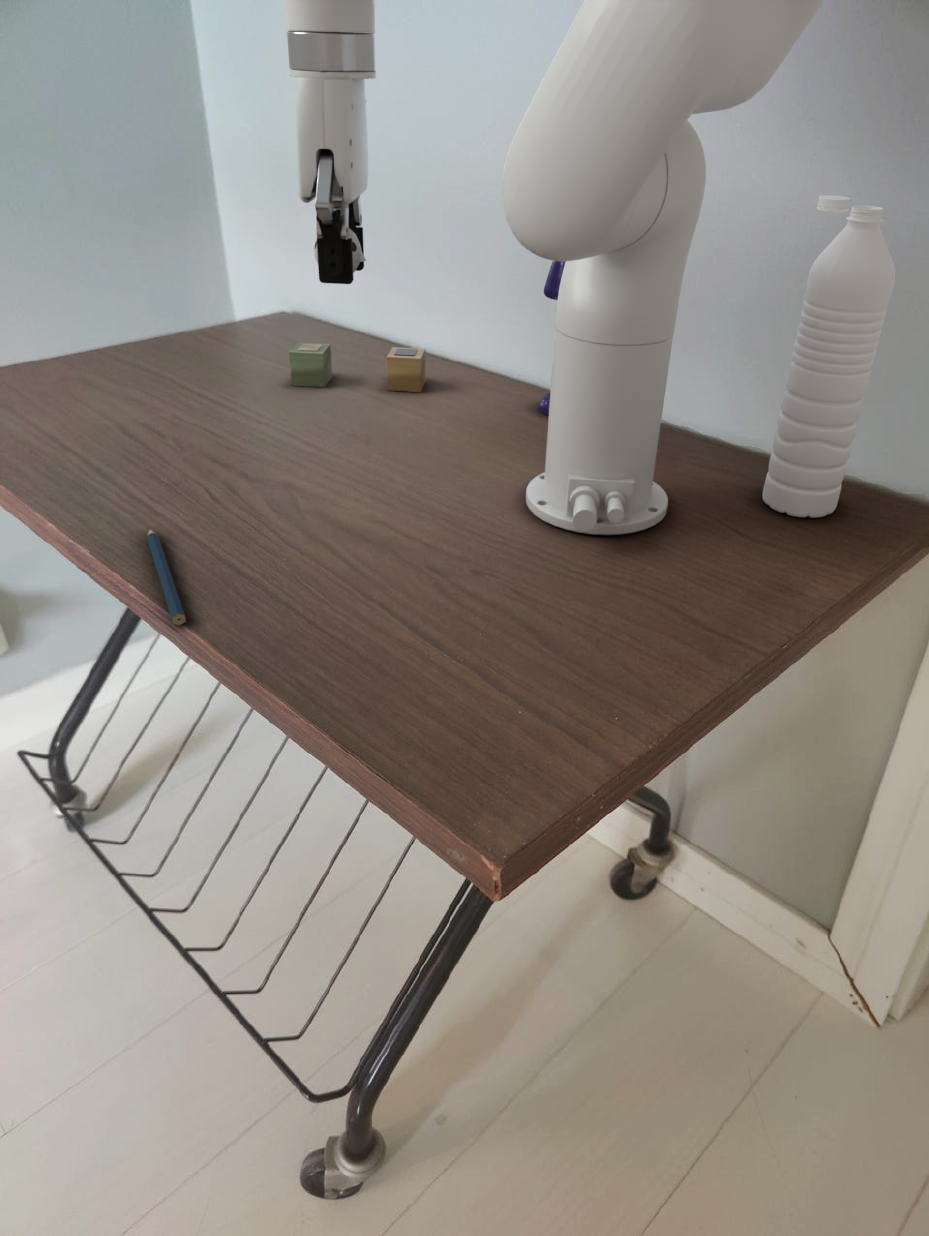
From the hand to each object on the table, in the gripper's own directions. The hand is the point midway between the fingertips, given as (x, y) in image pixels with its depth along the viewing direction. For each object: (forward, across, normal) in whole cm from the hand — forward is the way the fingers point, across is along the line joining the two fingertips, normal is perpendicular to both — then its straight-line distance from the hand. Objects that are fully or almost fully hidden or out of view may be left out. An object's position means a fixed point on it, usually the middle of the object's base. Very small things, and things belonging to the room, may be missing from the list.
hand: (342, 273), depth 89 cm
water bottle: (+15, +13, +44) cm, 48 cm away
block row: (+16, -14, -2) cm, 21 cm away
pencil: (+15, +40, -4) cm, 43 cm away
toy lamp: (+16, -8, +22) cm, 28 cm away
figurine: (+1, 0, 0) cm, 1 cm away
